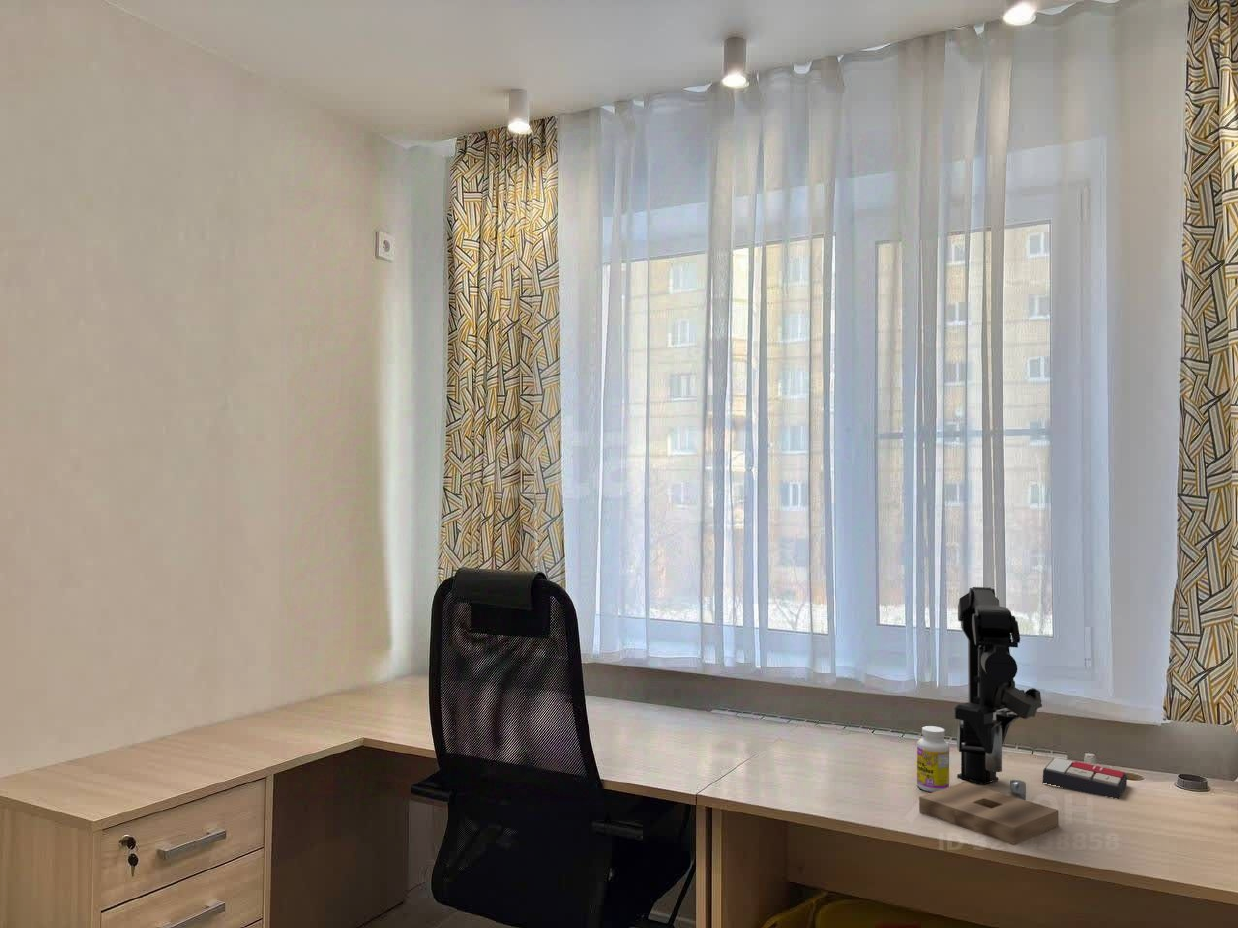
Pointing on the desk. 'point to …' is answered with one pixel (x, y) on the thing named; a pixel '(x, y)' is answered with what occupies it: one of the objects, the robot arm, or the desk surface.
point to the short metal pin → (1018, 789)
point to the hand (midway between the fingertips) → (993, 751)
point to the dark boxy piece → (1085, 778)
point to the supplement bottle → (932, 760)
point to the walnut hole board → (989, 812)
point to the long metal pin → (995, 752)
